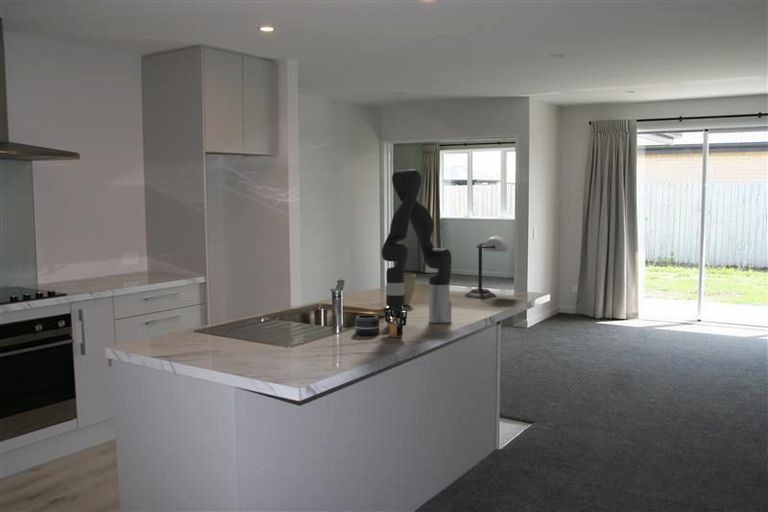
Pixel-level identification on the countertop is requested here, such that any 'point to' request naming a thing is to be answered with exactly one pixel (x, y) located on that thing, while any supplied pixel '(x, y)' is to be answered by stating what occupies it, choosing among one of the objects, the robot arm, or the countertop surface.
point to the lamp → (490, 245)
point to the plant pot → (409, 286)
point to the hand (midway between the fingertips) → (395, 334)
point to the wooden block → (393, 330)
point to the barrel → (367, 325)
